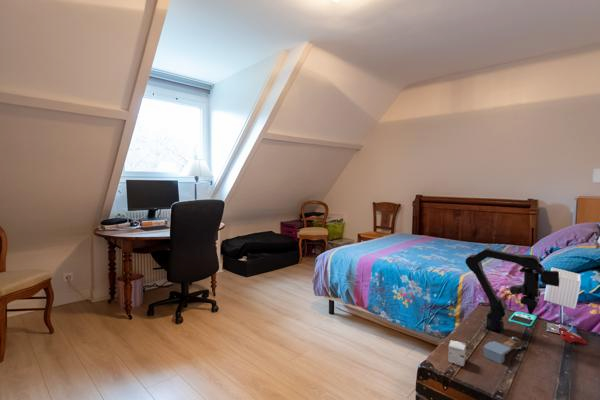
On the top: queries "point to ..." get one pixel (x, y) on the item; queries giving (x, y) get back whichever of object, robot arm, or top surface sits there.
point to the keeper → (496, 351)
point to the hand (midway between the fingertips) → (530, 313)
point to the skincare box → (457, 353)
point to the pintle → (516, 339)
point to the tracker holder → (571, 336)
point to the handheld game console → (523, 318)
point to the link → (512, 343)
